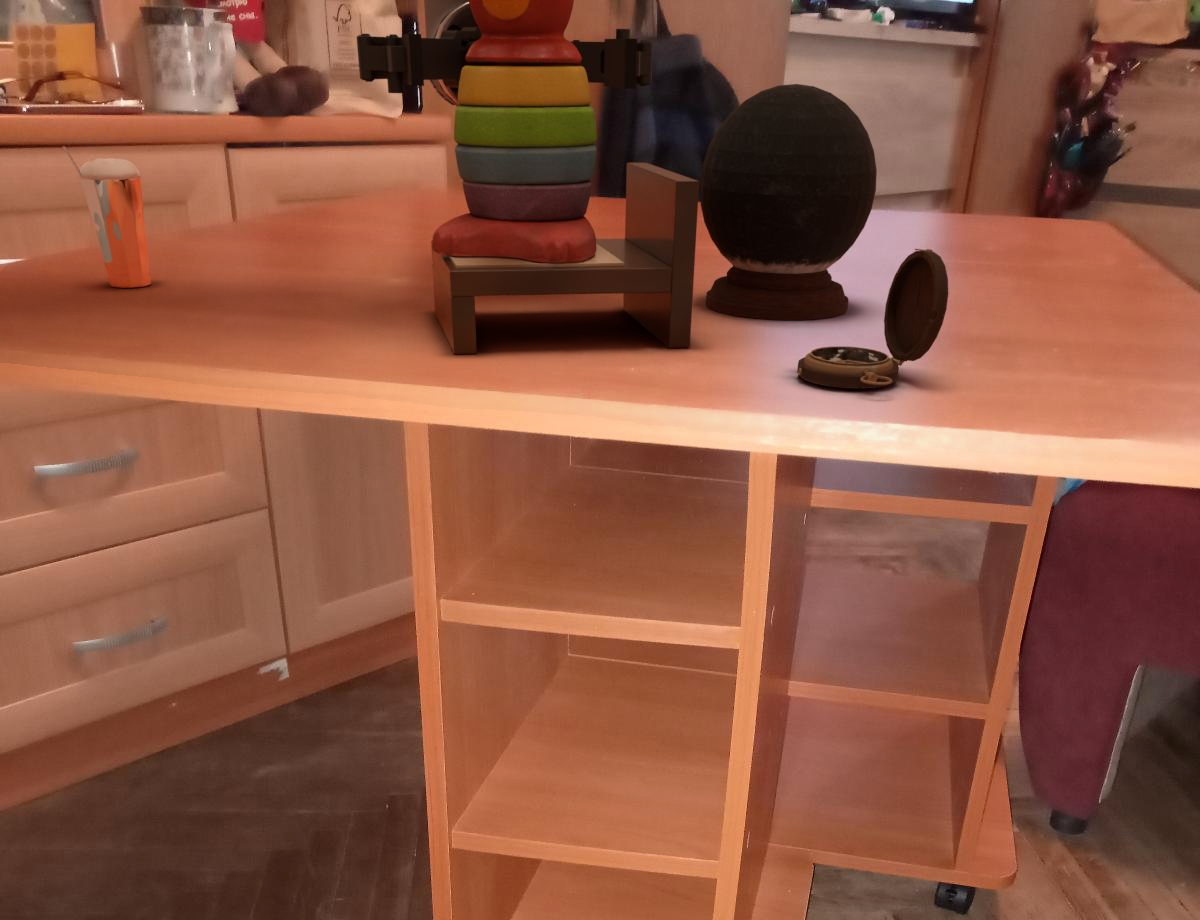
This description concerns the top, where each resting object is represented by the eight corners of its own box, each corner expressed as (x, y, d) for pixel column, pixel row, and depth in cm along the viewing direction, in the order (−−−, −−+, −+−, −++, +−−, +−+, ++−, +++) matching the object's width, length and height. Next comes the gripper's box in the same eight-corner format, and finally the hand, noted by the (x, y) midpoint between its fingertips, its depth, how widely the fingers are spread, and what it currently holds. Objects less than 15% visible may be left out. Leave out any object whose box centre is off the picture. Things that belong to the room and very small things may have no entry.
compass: (780, 370, 73) (792, 243, 69) (895, 365, 74) (913, 241, 70) (830, 401, 66) (847, 264, 62) (954, 396, 68) (979, 261, 64)
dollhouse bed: (453, 354, 75) (445, 181, 69) (435, 313, 86) (426, 162, 81) (690, 347, 78) (699, 180, 72) (641, 309, 89) (646, 162, 84)
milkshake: (83, 284, 94) (53, 144, 89) (147, 278, 97) (122, 142, 92) (103, 292, 91) (74, 148, 86) (168, 285, 94) (144, 146, 89)
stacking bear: (422, 255, 76) (401, -82, 66) (481, 236, 84) (470, -67, 75) (576, 265, 73) (578, -84, 64) (621, 245, 82) (629, -68, 72)
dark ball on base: (875, 323, 86) (908, 88, 78) (699, 321, 86) (714, 84, 77) (843, 292, 97) (868, 83, 89) (687, 290, 97) (698, 80, 88)
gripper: (639, 116, 94) (711, 132, 76) (327, 113, 89) (329, 129, 72) (642, 4, 90) (720, -6, 72) (316, -5, 85) (315, -18, 68)
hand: (525, 62), depth 72 cm, fingers open, 13 cm apart
